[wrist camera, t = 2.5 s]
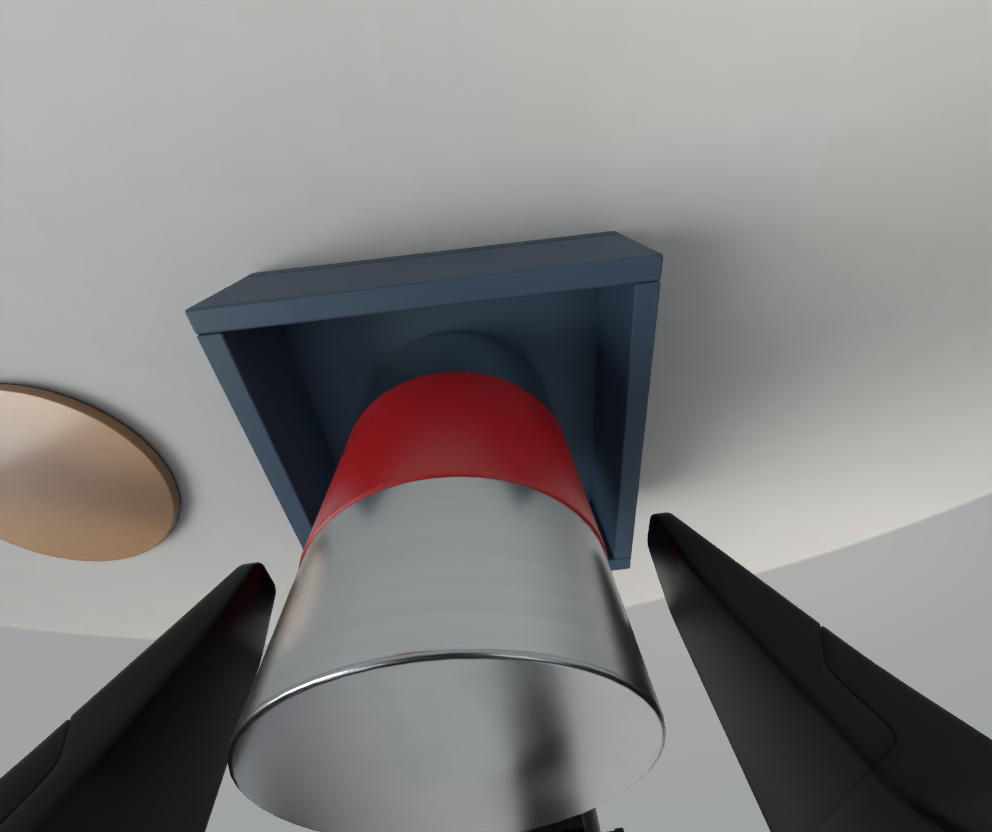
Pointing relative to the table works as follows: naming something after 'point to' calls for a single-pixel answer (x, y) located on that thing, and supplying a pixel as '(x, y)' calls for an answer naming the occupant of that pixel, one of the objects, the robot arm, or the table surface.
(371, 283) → the crate
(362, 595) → the can
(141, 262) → the table surface
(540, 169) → the table surface
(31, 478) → the coaster
